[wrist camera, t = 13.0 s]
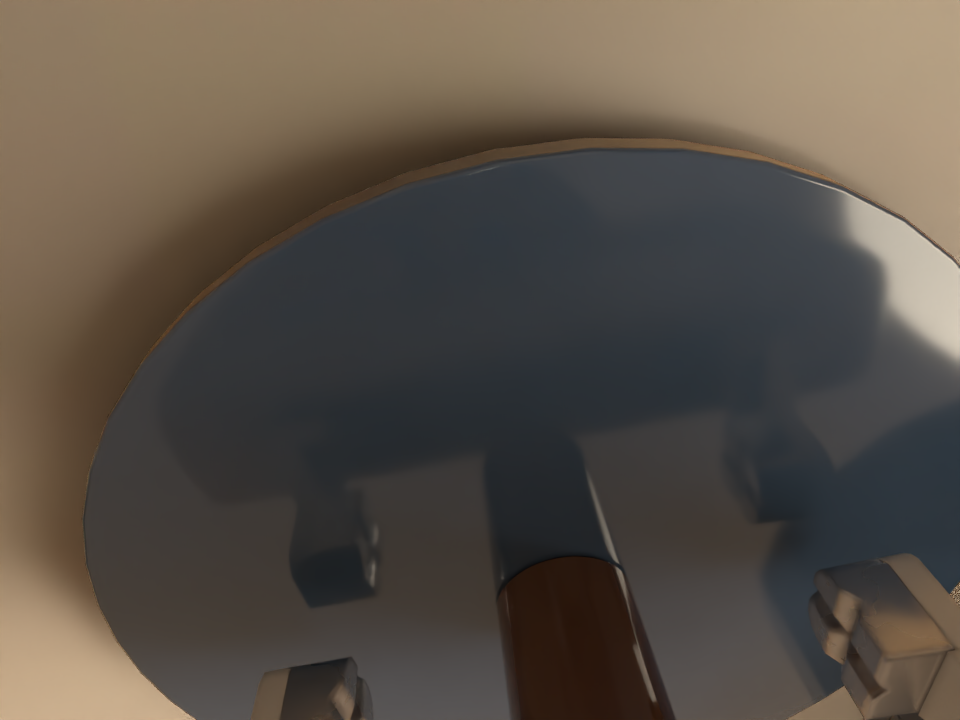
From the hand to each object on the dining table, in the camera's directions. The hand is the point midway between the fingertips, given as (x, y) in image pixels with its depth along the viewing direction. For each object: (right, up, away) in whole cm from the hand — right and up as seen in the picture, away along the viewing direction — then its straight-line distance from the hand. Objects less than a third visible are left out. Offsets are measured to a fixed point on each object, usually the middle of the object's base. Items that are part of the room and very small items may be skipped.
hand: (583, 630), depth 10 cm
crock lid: (0, +1, +1) cm, 2 cm away
